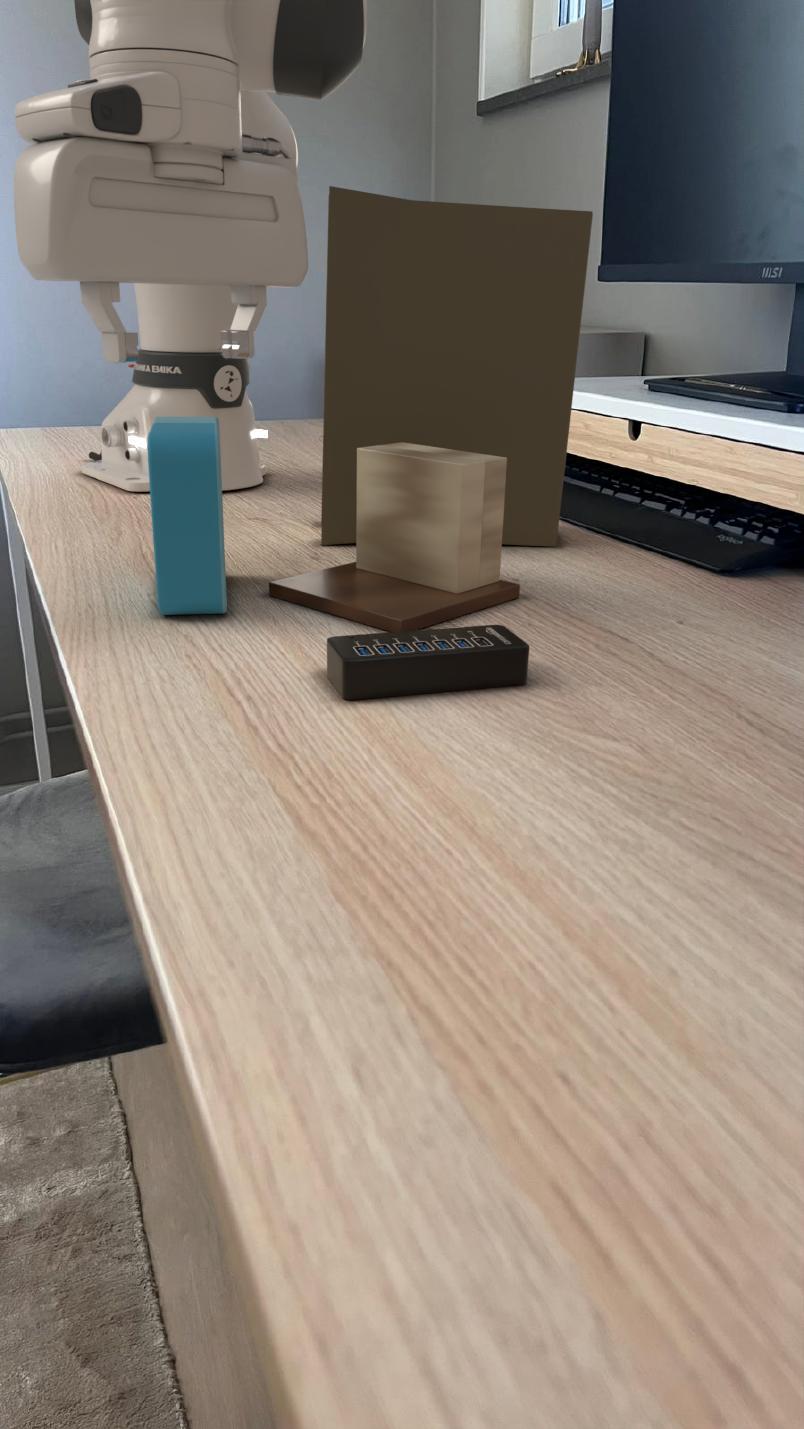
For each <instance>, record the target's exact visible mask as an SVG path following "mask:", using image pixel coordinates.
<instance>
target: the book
mask: <svg viewBox="0 0 804 1429" xmlns="http://www.w3.org/2000/svg"><path fill="white" fill-rule="evenodd" d="M327 205H328V206H327V209H328V210H327V244H326V245H327V248H326V249H327V250H326V252H327V253H326V289H325V290H326V293H325V294H326V295H325V338H324V341H325V342H324V377H323V378H324V381H323V382H324V383H323V384H324V385H323V424H322V425H323V427H322V465H321V466H322V471H321V511H320V512H321V516H320V517H321V518H320V527H321V532H320V535H321V536H320V538H321V539H320V540H321V541H320V545H321V546H328V545H329V546H330V545H343V544H344V545H345V544H356V528H357V448H361V447H369V446H377V445H385V444H393V443H401V442H404V443H411V444H417V445H424V446H431V447H438V448H445V449H451V450H458V451H465V452H472V453H479V454H486V455H492V456H499V457H506V458H507V466H506V483H505V500H504V516H503V533H502V545H513V546H532V547H535V546H536V547H555V548H556V547H557V541H558V534H559V526H560V516H561V508H562V498H563V489H564V480H565V472H566V471H565V470H566V463H567V462H566V461H567V454H568V444H569V437H570V436H569V434H570V425H571V417H572V416H571V415H572V407H573V396H574V391H575V381H576V371H577V363H578V354H579V346H580V344H579V343H580V336H581V335H580V334H581V327H582V326H581V325H582V316H583V307H584V300H585V299H584V298H585V290H586V288H585V287H586V280H587V272H588V262H589V253H590V245H591V234H592V226H593V218H594V214H593V213H594V212H593V211H591V210H577V209H576V210H575V209H559V208H558V209H557V208H541V207H528V206H527V207H526V206H525V207H523V206H509V205H508V206H507V205H493V204H492V205H491V204H479V203H478V204H477V203H462V202H448V201H447V202H445V201H429V200H414V199H408V198H400V197H396V196H389V195H384V194H380V193H379V194H378V193H374V192H373V193H372V192H367V191H361V190H355V189H349V188H345V187H337V186H333V185H329V187H328V204H327Z"/></svg>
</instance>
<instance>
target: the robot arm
mask: <svg viewBox="0 0 804 1429" xmlns="http://www.w3.org/2000/svg"><path fill="white" fill-rule="evenodd" d="M367 2H368V1H367V0H73V3H74V11H75V12H74V13H75V19H76V25H77V29H78V32H79V34H80V37H81V38H82V39H83V41H84V42H85V43H86V44H87V45H88V65H89V77H90V78H84V79H78V80H75V81H74V82H73V83H70V84H67V87H66V88H62V89H57V90H52V91H48V92H45V93H41V94H38V95H34V96H31V97H29V98H26V99H23V100H21V101H18V103H16V105H15V107H14V120H15V127H16V130H17V133H18V135H19V137H20V138H21V139H22V140H23V141H24V142H26V143H28V144H29V145H27V146H26V147H25V148H24V149H22V151H21V152H20V153H19V155H18V156H17V160H16V163H15V168H14V174H13V203H14V205H13V207H14V224H15V236H16V246H17V252H18V256H19V260H20V262H21V264H22V265H23V266H24V268H25V269H26V271H27V272H28V274H29V275H30V276H31V277H32V278H33V279H34V280H36V281H46V282H47V281H50V282H79V287H80V288H79V289H80V299H81V304H82V305H83V307H84V308H85V310H86V312H87V313H88V315H89V317H90V318H91V320H92V322H93V324H94V325H95V327H96V328H97V330H98V332H100V334H101V344H102V345H101V346H102V355H103V359H104V361H105V362H106V363H113V364H126V363H131V364H128V365H127V367H128V368H133V372H132V379H131V382H132V383H133V386H132V387H131V389H130V390H129V391H128V392H127V393H126V395H125V396H124V397H123V398H122V399H121V401H119V402H118V404H117V405H116V406H115V407H114V409H113V410H111V411H110V413H108V415H107V416H106V417H105V418H104V419H103V421H102V423H101V426H100V448H101V449H100V453H97V452H94V451H89V453H88V458H89V459H90V460H93V461H89V462H87V463H83V464H82V465H81V473H82V474H83V475H87V476H88V477H91V478H94V479H97V480H99V481H101V482H104V483H107V484H110V485H112V486H114V487H117V488H119V489H122V490H125V491H127V492H138V493H139V492H140V493H141V492H150V483H149V468H148V450H147V439H148V434H149V432H150V430H151V427H152V425H153V423H154V420H155V418H156V417H216V418H218V420H219V432H220V453H221V477H222V492H223V491H231V490H232V491H233V490H239V489H247V488H251V487H255V486H258V485H260V484H262V483H263V482H264V478H263V477H264V476H266V474H267V471H266V465H265V464H261V458H260V451H259V444H258V443H259V442H258V438H263V439H268V437H269V434H268V430H265V429H259V428H258V429H257V426H256V418H255V412H254V406H253V404H252V401H251V400H250V399H249V397H248V392H247V386H248V385H249V384H250V383H251V382H250V381H251V380H250V371H251V364H250V363H249V359H252V358H253V357H255V351H256V350H255V332H256V330H257V329H258V326H259V324H260V321H261V319H262V317H263V315H264V313H265V310H266V307H267V305H268V304H267V303H268V301H267V300H268V299H267V288H298V287H300V286H301V285H302V284H303V282H304V280H305V278H306V276H307V274H308V271H309V252H308V241H307V230H306V221H305V214H304V207H303V201H302V195H301V192H300V187H299V172H298V165H299V151H298V150H299V149H298V145H297V143H298V142H297V139H296V136H295V133H294V130H293V127H292V125H291V123H290V121H289V119H288V118H287V117H286V115H285V114H284V113H283V112H282V111H281V110H280V109H279V107H278V106H277V105H276V104H275V103H274V101H273V100H272V99H271V97H270V95H269V94H268V93H276V95H277V96H282V97H283V96H284V97H291V98H298V99H305V100H306V99H307V100H313V101H320V102H322V101H323V100H324V99H326V98H327V97H329V96H330V95H332V93H333V92H335V91H336V90H337V89H339V87H341V86H342V85H343V84H345V82H346V81H348V79H349V78H350V77H351V76H352V74H353V73H354V72H355V71H356V70H357V69H358V68H359V66H360V65H361V62H362V59H363V52H364V48H365V42H366V37H367V26H368V3H367ZM120 283H121V284H124V283H126V284H133V287H134V288H133V289H134V294H135V303H136V311H137V321H138V331H139V337H138V332H131V331H130V332H129V331H127V329H126V328H125V325H124V324H123V321H122V320H121V317H120V316H119V314H118V312H117V310H116V308H115V306H114V303H120V302H121V291H120ZM138 345H139V346H140V348H139V349H138Z"/></svg>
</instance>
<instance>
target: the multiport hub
mask: <svg viewBox="0 0 804 1429" xmlns="http://www.w3.org/2000/svg"><path fill="white" fill-rule="evenodd" d="M530 648H531V647H530V644H529V643H527V642H526V641H525V640H523V639H522V638H521V637H519V636H518V635H517V634H516V633H515V632H513V631H511V629H509V628H507V627H506V626H505V625H502V624H489V625H488V624H487V625H474V626H460V627H458V626H457V627H444V628H431V629H418V630H415V631H402V632H390V631H387V632H375V633H374V632H373V633H361V634H348V635H346V634H345V635H335V636H330V637H328V638H327V639H326V676H327V678H328V680H329V681H330V683H331V684H332V685H333V687H334V688H335V690H336V691H337V693H338V694H339V695H340V697H341V699H343V700H346V701H355V700H356V701H357V700H368V699H378V698H389V697H390V698H391V697H400V696H401V697H402V696H413V695H421V694H422V695H423V694H435V693H444V692H445V693H446V692H456V691H468V690H478V689H479V690H480V689H489V688H499V687H511V686H522V685H526V684H527V683H528V672H529V660H530V659H529V657H530Z"/></svg>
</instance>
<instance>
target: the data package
mask: <svg viewBox="0 0 804 1429" xmlns="http://www.w3.org/2000/svg"><path fill="white" fill-rule="evenodd" d="M147 450H148V468H149V483H150V491H149V496H150V498H149V499H150V510H151V511H150V512H151V525H152V537H153V538H152V541H153V555H154V556H153V557H154V572H155V584H156V585H155V587H156V596H157V597H156V598H157V599H156V600H157V609H158V613H159V614H160V615H161V616H173V615H174V616H177V615H178V616H179V615H180V616H181V615H219V614H222V615H223V614H226V613H227V611H228V601H227V598H228V597H227V577H226V576H227V575H226V555H225V554H226V553H225V552H226V551H225V528H224V504H223V502H224V500H223V491H222V477H221V453H220V432H219V420H218V418H216V417H156V418H155V420H154V423H153V425H152V427H151V430H150V432H149V434H148V439H147Z"/></svg>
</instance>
